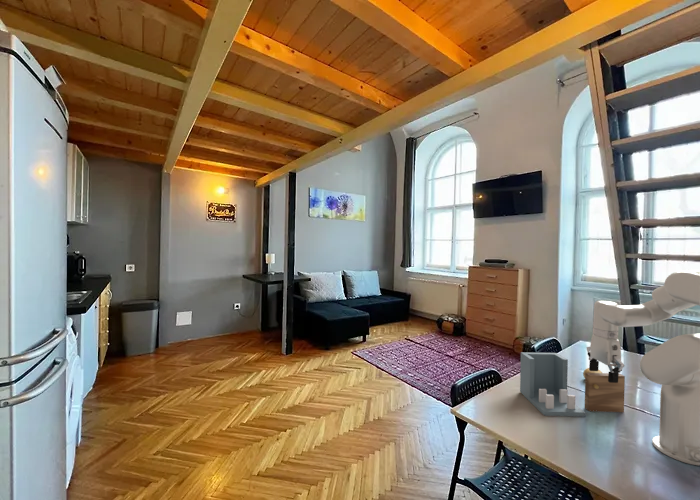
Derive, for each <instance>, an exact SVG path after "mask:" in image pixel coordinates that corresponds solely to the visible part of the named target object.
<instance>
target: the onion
mask: <svg viewBox="0 0 700 500" xmlns="http://www.w3.org/2000/svg"><path fill="white" fill-rule="evenodd" d="M585 373H603V372H602V371H601V369H598V371H590V370H589V367H587V368H585V369H584V371H583V373H582V375H583V379H585Z"/></svg>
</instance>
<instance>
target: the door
mask: <svg viewBox="0 0 700 500" xmlns="http://www.w3.org/2000/svg"><path fill="white" fill-rule="evenodd" d="M608 374H609V372H608V373H607V372H604V373H603V372H602V373H585V378H584V409H585V410H587V411H588V412H598V413H599V412H605V413H625V385H626V384H625V383H626V381H625V380H626V379H625V377H626V376H625V375H623V374H621V373H619V375H618V383H610V382H608Z"/></svg>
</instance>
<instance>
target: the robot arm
mask: <svg viewBox="0 0 700 500" xmlns="http://www.w3.org/2000/svg"><path fill="white" fill-rule="evenodd" d="M651 297H652V299H651V300H648V301H646V302H643V303H640V304H629V305H627V304H624V305H620V304H619V303H617V302H616V301H615V302H614V301H609V300H596V301H595V302H594V306H593V307H594V308H593V325H592V326H593V327H592V335H591V338H590V339H591V340H590V346H587V347H586V351H587V356H588V360H589V367H588V368H589V370H590V371H598V370H599V364H600V363H602V364H604V365H606V366H607V367H608V370H609V371H608V373H609V374H608V382H610V383H618V375H619V374H621V372H622V371H623V369H624V367H625V364H624V363H623V362H622V350H621V343H620V340H619V327H620V328H630V327H645V326H651V325H654V324H657V323H659V322H662V321H665V320H668V319H671V318H672V317H673V316H675V315H676V314H677V313H678V312H682V311H685V310H687V309H690V308H693V307H695V306H699V307H700V269H690V270H689V269H685V270H678V271H675V272H672V273H670V274H669V275H668V276H667V277H666V278H665V281H664V284H663V285H661V286H659V287H657V288H655V289H654V290H653V291H652V293H651ZM639 368H640V371H641V373H642V375H643V376H644V377H645V378H646V379H647V380H648V381H650V382H652V383H655V384H657V385H661V387H660V395H659V397H660V398H659V399H660V400H659V405H660V406H659V427H658V428H659V429H658V430H659V432H658V433H659V435H657V436H654V437H652V440H651V441H652V442H651V443H652V445H653V446H654V448H656V450H658V451H659V452H661V453H662V454H664V455H666V456H667V457H670V458H672V459H675V460H676V461H679V462H682V463H685V464H688V465H693V466H698V467H700V332H699V333H685V334H680V335H677V336H674V337H672V338H670V339H668V340H666V341H664V342H662V343H661V344H659V345H657V346H655V347H654V348H653V349H651V350H649V351H648V352H646V353H644V355H643V356H642V357H641V359H640V360H639Z"/></svg>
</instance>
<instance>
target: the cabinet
mask: <svg viewBox="0 0 700 500" xmlns="http://www.w3.org/2000/svg"><path fill="white" fill-rule="evenodd" d="M568 360H569V359H568V358H566V357H565V356H562V355H560V354H559V353H557V352H522V351H521V352H520V373H519V374H520V376H519V377H520V378H519V385H520V386H519V392H521V393H522V394H523V395H524V397H525V399H526V400H528V402H530V404H532V406H534V407H535V408H536V409H537V410H538V411H539V412H540V413H541V414H542V415H543V416H547V417H548V416H551V417H553V416H554V417H555V416H556V417H586V411H584V410H583V409H581V408H580V407H579V406H578V405H576V395H574V394H568V371H569V370H568V368H569V367H568V366H569V365H568V364H569V363H568V362H569V361H568ZM521 393H520V394H521ZM522 394H521V395H522ZM523 395H522V396H523Z"/></svg>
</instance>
